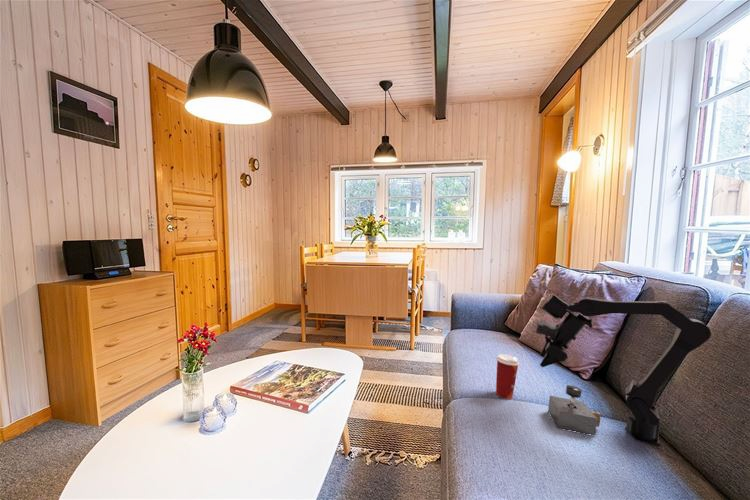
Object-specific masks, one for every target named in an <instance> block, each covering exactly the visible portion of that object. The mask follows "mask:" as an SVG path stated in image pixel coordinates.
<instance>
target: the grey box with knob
mask: <svg viewBox="0 0 750 500" xmlns="http://www.w3.org/2000/svg"><path fill="white" fill-rule="evenodd" d="M548 398H549V399H548V409H547V412H548V414H549V413H550V414H549V416H550V415H551V416H550V417H552V418H551V420H552V419H553V420H552V422H553V423H554V425H555V424H556V425H555V427H556V426H557V427H556V428H557V429H558V430H562V429H565V430H564V431H567V430H571V431H570V432H572V431H576V432H580V433H579V434H581V433H585V434H584V435H586V434H591V435H595V436H596V429H597V428H600V423H601V415H602V414H601V413H600V412H599V411H594V410H591V409H590V408H589V407H588V406H587V405H586V403H585V402H584V401H579V400H575V404H574V407H575V408H576V409H575V408H570V407H568V406H570V398H564V397H559V396H554V395H549V397H548ZM576 432H575V433H576Z"/></svg>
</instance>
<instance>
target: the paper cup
mask: <svg viewBox="0 0 750 500" xmlns="http://www.w3.org/2000/svg"><path fill="white" fill-rule="evenodd" d="M496 361H497V362H496V380H495V381H496V383H495V394H496V396H498V397H499V398H502V399H505V400H512V399H513V396H514V391H515V387H516V386H515V385H516V380H517V374H518V367H519V365H520V361H519V359H518V358H517V357H515V356H513V355H510V354H507V353H506V354H504V353H503V354H498V356H497V358H496Z"/></svg>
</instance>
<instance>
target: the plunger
mask: <svg viewBox="0 0 750 500" xmlns="http://www.w3.org/2000/svg"><path fill="white" fill-rule="evenodd" d="M565 394H566V395H568V396H569V397H570V398H569V399H570V406H568V407H570V408H575V407H574V404H575V401H576V398H577V399H580V398H581V397H582V389H581V388H579V387H578V386H575V385H571V384H570V385H569V384H567V385H566V389H565ZM575 409H576V408H575Z"/></svg>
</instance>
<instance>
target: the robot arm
mask: <svg viewBox="0 0 750 500" xmlns="http://www.w3.org/2000/svg"><path fill="white" fill-rule="evenodd" d="M541 310H543V312H544V313H547V314H548V315H549V316H551V317H552V318H554V319H555V320H557V319H560V320H562V319H563V318H564V317H565V315H566V314H567V313H568V314H567V316H566V317H565V318H564V319H563V320H562V321H561V322H560V323H557V324H556V325H552V324H550V323H547V322H543V321H539V320H538V321H537V324H536V328H535V333H536V334H537V335H538V334H539V335H544V338H545V343H544V346H543V348H542V350H541V352H540V353H539V354H540V355H539V356H541V357H543V358H542V361H541V363H540V364H539V366H540V367H542V368H545V367H547V366H548V367H549V366H551V365H554V364H557V363H563V362H564V363H565V362H566V361H567V359H568V358H569V356H568V353H567V352H568V351H567V349H568V348H569V345H570V343H571V342H572V341H575V340H576V339H577V335H578V334H579V333H580V332H581V331H582V330H583V329H584V327H585V326H587V327H589V328H591V329H592V328H593V327H594V323H593V318H587V317H596V316H602V315H603V316H604V315H609V314H623V315H625V314H626V315H627V314H628V315H654V316H655V315H656V316H657V315H658V316H662V317H663V318H664V319H665V320H667V321H668V322H670V323H671V324H672V325H673V326H675V327H677V328H676V330H675V332H674V335H673V339H672V341H671V343H670V344H669V346H668V347H667V348H666V349H665V351H664V352H663V354H662V355H661V356H660V357H659V359H658V360H657V361H656V362H655V364H654V365H653V366H652V367H651V369H650V370H649V371H648V372H647V374H645V376H644V378H643V379H641V380H639V381H636V379H634V378H633V379H632V380H631V382H630V384H629V385H628V386H626V387H625V403H626V405H627V407H628V408H629V410H631V411H630V412H629V416H628V417H627V420H626V426H624V429H625V430H626V431H627V432H628V433H629V434H630V435H631V437H633V439H634V440H636V441H638V440H640V441H639V442H643V441H645V442H644V443H648V442H649V443H648V444H652V445H658V446H662V443H661V441H659V437H660V436H659V433H660V427H661V421H660V416H659V411H658V408H656V406H655V405H654V404H655V400H656V397H657V394H658V392H659V390H660V389H661V388H662V386H663V385H664V384H665V383H666V381H667V380H668V379H669V378H670V377H671V376H672V374H673V373H674V372H675V371H676V369H677V368H678V367H679V366H680V364H681V363H683V360H684V359H685V358H686V357H687V355H689V354H690V353H691V352H693V351H695V350H696V349H698V348H700V347H701V346H702V345H704V344H705V343H706V342H708V341H709V340H710V339H711V337H712V332H711V329H710V328H709V327H708V326H707V325H706V324H705V323H704V322H702V321H701V320H699V319H696V318H691V317H690V318H689V317H688V316H687V315H685V314H684V313H682V312H680V310H678V309H677V308H675V307H674V306H672V305H671V304H670V303H669V302H668V301H664V300H658V301H642V300H641V301H638V300H637V301H631V300H629V301H627V300H624V301H623V300H622V301H620V300H615V301H614V300H607V299H601V298H596V297H590V296H588V297H587V296H586V297H584V298H583V297H582V299H580V300H579V301H578V302H574V303H573V302H571V303H569V304H568V302H566V301H564V300H562V299H561V298H560V297H559V296H558V295H556V294H554V295H552V297H551V298H550V299H549V300H548V301H546V302H545V304H544V305H543V306H542V307H541Z"/></svg>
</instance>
